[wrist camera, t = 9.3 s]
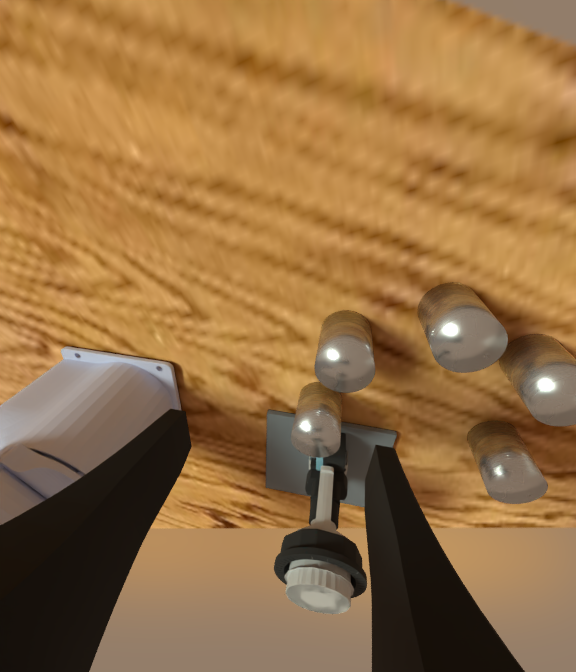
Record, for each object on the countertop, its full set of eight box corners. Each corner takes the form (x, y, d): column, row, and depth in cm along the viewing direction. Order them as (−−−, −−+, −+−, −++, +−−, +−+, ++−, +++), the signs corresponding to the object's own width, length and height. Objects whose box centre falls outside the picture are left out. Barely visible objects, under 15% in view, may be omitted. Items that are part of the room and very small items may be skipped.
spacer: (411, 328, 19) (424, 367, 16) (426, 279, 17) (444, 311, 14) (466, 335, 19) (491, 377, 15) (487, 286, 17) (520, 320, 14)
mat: (266, 483, 30) (265, 487, 30) (268, 409, 25) (267, 413, 24) (371, 504, 29) (371, 508, 28) (396, 431, 24) (396, 435, 23)
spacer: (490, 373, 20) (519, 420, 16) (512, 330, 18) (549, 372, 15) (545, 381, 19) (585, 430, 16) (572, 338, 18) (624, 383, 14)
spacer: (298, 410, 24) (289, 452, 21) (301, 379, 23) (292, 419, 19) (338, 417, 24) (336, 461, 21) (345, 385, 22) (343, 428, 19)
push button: (358, 484, 27) (360, 636, 19) (298, 475, 28) (274, 617, 19) (365, 430, 24) (372, 588, 15) (296, 423, 24) (267, 567, 16)
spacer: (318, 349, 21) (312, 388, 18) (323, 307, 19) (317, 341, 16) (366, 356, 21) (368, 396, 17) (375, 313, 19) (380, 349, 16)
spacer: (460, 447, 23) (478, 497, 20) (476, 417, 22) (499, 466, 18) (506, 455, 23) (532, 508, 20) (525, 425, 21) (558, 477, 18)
